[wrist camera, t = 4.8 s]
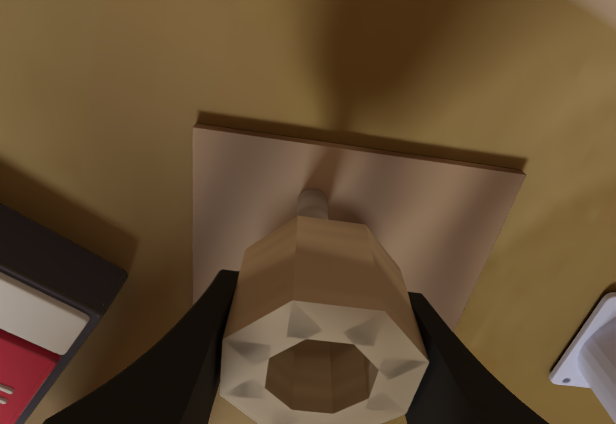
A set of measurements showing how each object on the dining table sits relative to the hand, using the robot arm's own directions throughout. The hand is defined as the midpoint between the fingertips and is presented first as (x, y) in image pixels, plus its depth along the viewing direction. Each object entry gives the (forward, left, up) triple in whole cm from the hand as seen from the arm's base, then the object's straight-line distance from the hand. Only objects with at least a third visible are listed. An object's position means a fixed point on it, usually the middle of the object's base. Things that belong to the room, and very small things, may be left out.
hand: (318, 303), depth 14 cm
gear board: (-2, +4, -8) cm, 9 cm away
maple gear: (0, 0, -1) cm, 1 cm away
